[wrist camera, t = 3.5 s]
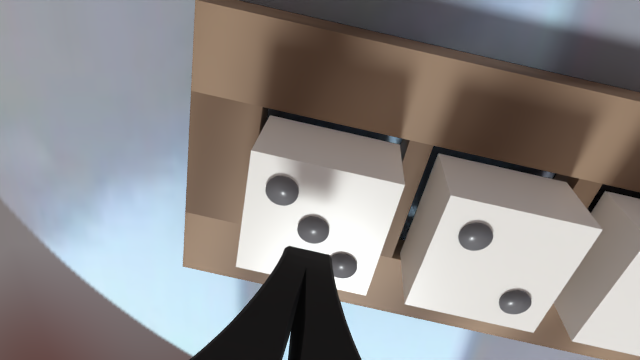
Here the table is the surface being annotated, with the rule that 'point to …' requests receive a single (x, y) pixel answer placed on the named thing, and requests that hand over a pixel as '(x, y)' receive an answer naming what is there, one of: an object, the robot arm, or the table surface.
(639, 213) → the one dot tile
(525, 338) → the tile board
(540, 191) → the two dot tile
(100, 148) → the table surface
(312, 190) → the three dot tile
